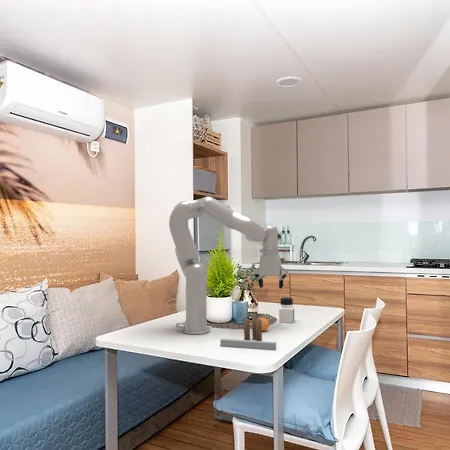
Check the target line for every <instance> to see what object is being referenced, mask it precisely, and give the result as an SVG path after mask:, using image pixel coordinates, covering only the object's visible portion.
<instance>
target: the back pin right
mask: <svg viewBox="0 0 450 450" xmlns="http://www.w3.org/2000/svg"><path fill="white" fill-rule="evenodd" d="M255 341H263V331H262V320H260V319H259V318H258V320H256V340H255Z"/></svg>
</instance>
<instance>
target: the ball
mask: <svg viewBox="0 0 450 450" xmlns="http://www.w3.org/2000/svg"><path fill="white" fill-rule="evenodd" d="M258 319H260V320H262V332H265V331H267V330H268V329H269V327H270V321H269V320H268V319H267V318H266V317H259V318H258Z"/></svg>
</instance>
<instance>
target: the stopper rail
mask: <svg viewBox="0 0 450 450" xmlns="http://www.w3.org/2000/svg"><path fill="white" fill-rule="evenodd" d="M219 342H220V345H219V346H220V347H227V348H240V349H241V348H242V349H253V350H254V349H255V350H256V349H257V350H267V351H269V350H270V351H276V349H277V341H266V340H265V341H263V340H262V341H256V340H251V339H250V340H244V339H232V338H231V339H230V338H221V339H220V341H219Z"/></svg>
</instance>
